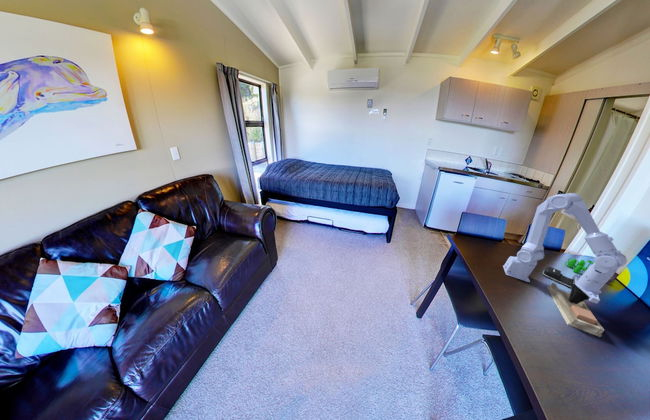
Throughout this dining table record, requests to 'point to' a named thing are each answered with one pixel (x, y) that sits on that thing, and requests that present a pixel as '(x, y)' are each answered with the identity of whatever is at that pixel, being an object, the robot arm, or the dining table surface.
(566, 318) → the chute
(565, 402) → the dining table surface
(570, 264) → the green irregular lump
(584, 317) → the block
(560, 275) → the battery charger
